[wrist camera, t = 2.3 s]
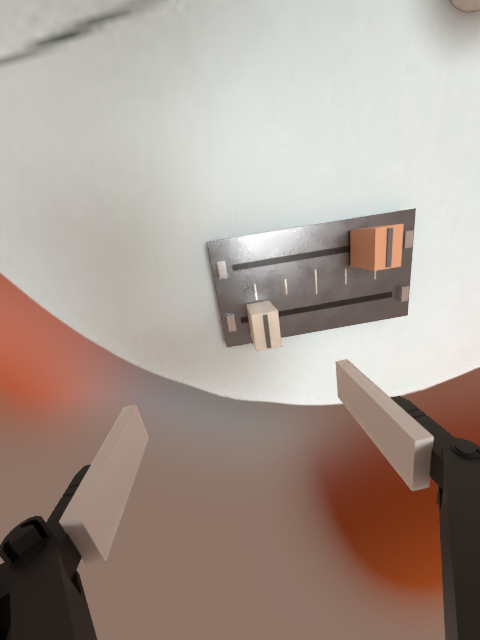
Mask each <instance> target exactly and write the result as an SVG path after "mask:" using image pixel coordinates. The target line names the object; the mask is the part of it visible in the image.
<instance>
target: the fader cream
mask: <svg viewBox="0 0 480 640" xmlns="http://www.w3.org/2000/svg"><path fill="white" fill-rule="evenodd" d="M246 307H247V313H248V320H249V327H250V334H251V337H252V340H253V343H254V346H255V349H256V351H260V350H265V349H271V348H276V347H282V345H281V335H280V326H279V316H278V310H277V309H276V308H275V307H274V306H273V304H272V303H271V302H270V301H269V300H267V301H261V302H255V303H250V304H246Z"/></svg>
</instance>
